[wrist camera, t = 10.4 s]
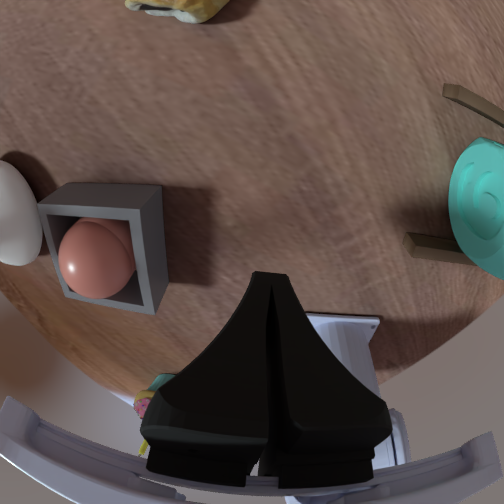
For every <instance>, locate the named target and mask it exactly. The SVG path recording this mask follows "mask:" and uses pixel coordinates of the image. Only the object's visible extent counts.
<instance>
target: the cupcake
mask: <svg viewBox="0 0 504 504" xmlns="http://www.w3.org/2000/svg"><path fill="white" fill-rule="evenodd" d="M174 376H175V375H173V374H161V375H159V376H157V378H156V379H155V380H154V382H153V383H152V384H151V386H150V387H149V388H148V389H147V390H142V391H140V392H139V393H138V394H137V395H136V398H135V401H134V404H133V405H134V409H136V410H135V411H136V412H137V413H138V415H139V416H140V419H143V416H144V413H145V411H146V409H147V406H148V404H149V402H150V400H151V399H152V397H153V395H154V394H155V392H156V390H157V389H158V388H159V387H161V386H162V385H163V384H165V383H166V382H167V381H169V380H170V379H171V378H173V377H174ZM147 446H148V443H147V441H146V440H145V439H144V441H143V444H142V446H141V448H140V450H139V453H140V454H139V455H138V457H140V455H141V454H143V455H144V453H145V451H146V448H147Z"/></svg>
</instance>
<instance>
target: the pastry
mask: <svg viewBox="0 0 504 504" xmlns="http://www.w3.org/2000/svg"><path fill="white" fill-rule="evenodd" d="M229 1H230V0H125V6H126V7H127V8H129V9H130V10H134V11H146V13H148V14H151V15H156V16H175V17H176V18H177V19H179V20H180V21H182V22H188V23H192V24H196V23H202V22H205V21H207V20H208V19H210V18H211V17H213V16H214V15H215V14H216V13H217V12H218V11H219V10H220V9H221V8H222V7H223V6H225V5H226V4H227V3H228V2H229Z"/></svg>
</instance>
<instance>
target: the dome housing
mask: <svg viewBox="0 0 504 504" xmlns="http://www.w3.org/2000/svg"><path fill="white" fill-rule="evenodd" d="M37 206H38V210H39V215H40V219H41V223H42V227H43V230H44V234H45V238H46V241H47V244H48V248H49V251H50V254H51V257H52V261H53V264H54V267H55V269H56V272H57V275H58V278H59V281H60V283H61V286H62V289H63V291H64V294H65V297H68V298H73V299H77V300H81V301H86V302H90V303H95V304H99V305H104V306H109V307H114V308H119V309H124V310H129V311H134V312H140V313H145V314H151V315H155V314H156V312H157V310H158V307H159V305H160V302H161V300H162V298H163V295H164V293H165V291H166V288H167V286H168V284H169V278H168V268H167V258H166V247H165V235H164V221H163V204H162V185H142V184H113V183H66V184H64V185H63V186H61V187H60V188H58V189H57V190H56V191H54V192H53V193H51V194H50V195H48V196H47V197H46V198H44V199H43V200H42V201H40V202H39V203H38V204H37ZM79 217H92V218H105V219H117V220H129V223H130V230H131V237H132V244H133V250H134V257H135V263H136V268H137V271H134V272H133V274H132V276H131V277H130V279H129V281H128V282H127V284H126V285H125V286H124V287H123V288H122V289H121V290H120V291H119V292H117V293H116V294H114V295H112V296H110V297H107V298H103V299H91V298H87V297H84V296H81V295H79V294H78V293H76V292H75V291H74V290H72V289H71V288H70V287H69V286H68V284H67V283H66V282H65V280H64V278H63V276H62V274H61V271H60V267H59V261H58V254H59V248H60V244H61V241H62V239H63V237H64V235H65V234H66V232H67V231H68V230H69V229H70V227H71V226H73V225H74V224H75V223H76V222H77V221H78V220H79V219H80V218H79Z"/></svg>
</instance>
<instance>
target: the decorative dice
mask: <svg viewBox="0 0 504 504" xmlns="http://www.w3.org/2000/svg"><path fill="white" fill-rule="evenodd" d="M448 204H449V216H450V222H451V226H452V230H453V233H454V236H455V238H456V240H457V243H458V245H459V247H460V248H461V250H462V251H463V252H464V253H465V254H466V256H467V257H468V258H470V259H471V260H472V261H473V262H474V263H475V264H477V265H478V266H479V267H480V268H482V269H483V270H485V271H486V272H488V273H490V274H492V275H493V276H495V277H498V278H500V279H502V280H504V145H503V144H501V143H498V142H495V141H493V140H490V139H486V138H483V137H479V138H478V139H476V140H475V141H473V142H472V143H471V144H470V145H469V146H468V147H467V148H466V149H465V150H464V151H463V153H462V154H461V156H460V157H459V159H458V161H457V163H456V165H455V167H454V170H453V173H452V176H451V180H450V186H449V198H448Z"/></svg>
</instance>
